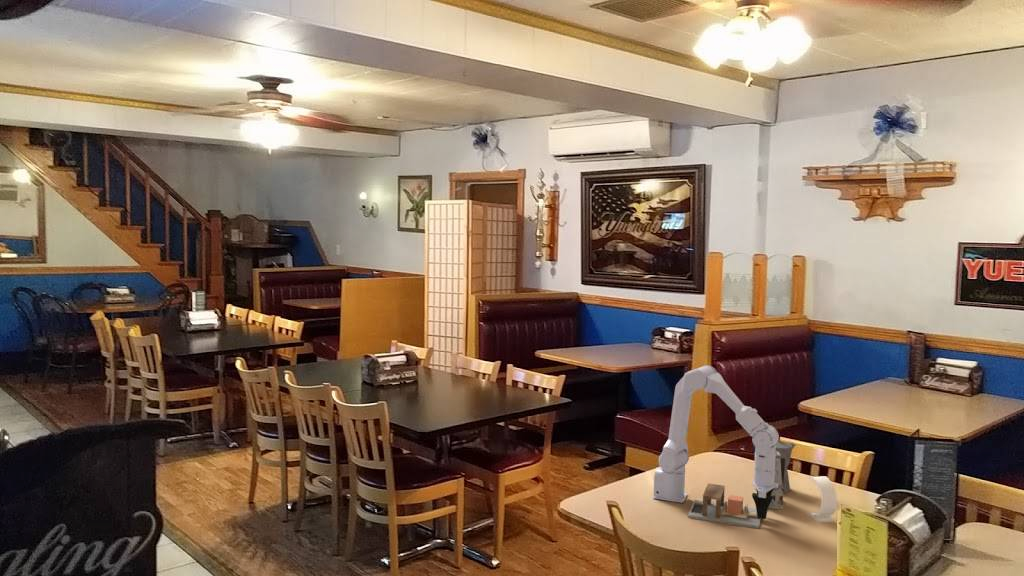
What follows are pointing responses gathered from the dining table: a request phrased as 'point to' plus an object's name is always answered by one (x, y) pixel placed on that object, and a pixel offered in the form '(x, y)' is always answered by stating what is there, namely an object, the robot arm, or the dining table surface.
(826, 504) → the headphone stand
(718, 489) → the bridge
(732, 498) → the block
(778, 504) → the coffee box
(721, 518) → the track board
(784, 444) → the coffeepot
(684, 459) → the robot arm
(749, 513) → the sled
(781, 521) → the dining table surface
